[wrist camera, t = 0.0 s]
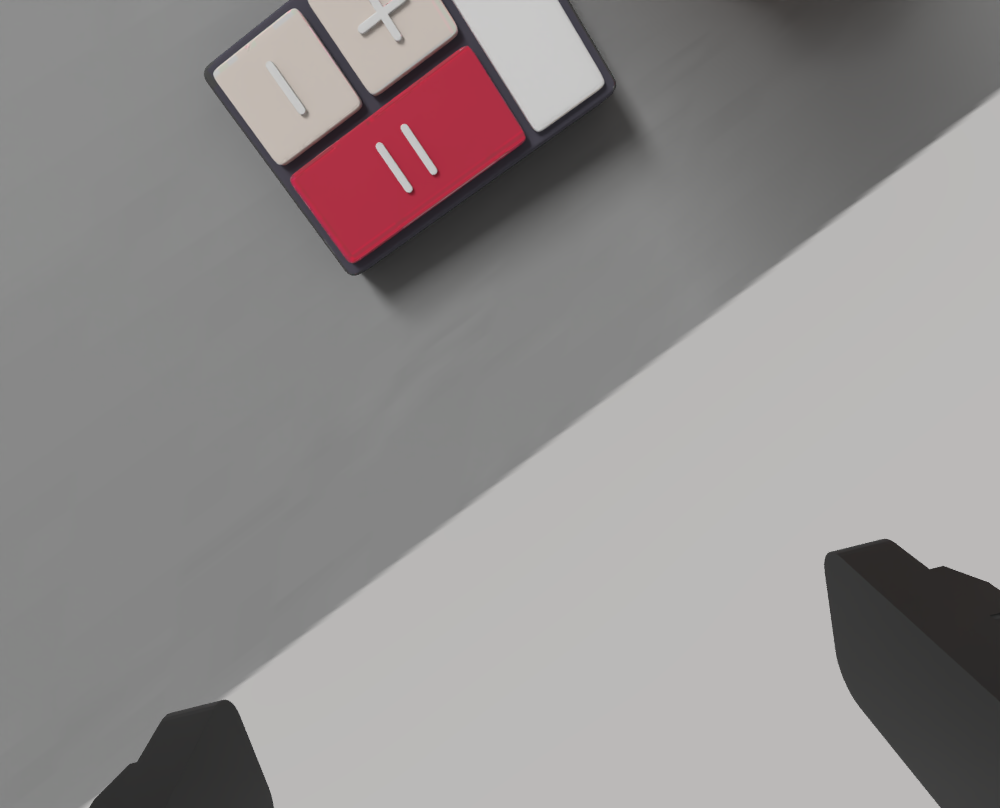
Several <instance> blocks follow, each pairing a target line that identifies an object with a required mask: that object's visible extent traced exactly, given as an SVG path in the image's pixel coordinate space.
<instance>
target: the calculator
mask: <svg viewBox="0 0 1000 808" xmlns="http://www.w3.org/2000/svg"><path fill="white" fill-rule="evenodd" d="M204 77H205V80H206V81H207V83H208V84H209V86H210V87H211V88H212V90H213V91H214V93H215V94H216V95H217V97H218V98H219V99H220V101H221V102H222V103H223V105H224V106H225V108H226V109H227V110H228V112H229V113H230V114H231V116H232V117H233V118H234V120H235V121H236V123H237V124H238V125H239V127H240V128H241V129H242V131H243V132H244V133H245V135H246V136H247V138H248V139H249V140H250V142H251V143H252V144H253V146H254V147H255V148H256V150H257V151H258V153H259V154H260V155H261V157H262V158H263V159H264V161H265V162H266V163H267V165H268V166H269V168H270V169H271V170H272V172H273V173H274V174H275V176H276V177H277V178H278V180H279V181H280V183H281V184H282V185H283V187H284V188H285V189H286V191H287V192H288V193H289V195H290V196H291V198H292V199H293V200H294V202H295V203H296V204H297V206H298V207H299V208H300V210H301V211H302V213H303V214H304V215H305V217H306V218H307V219H308V221H309V222H310V223H311V225H312V226H313V228H314V229H315V230H316V232H317V233H318V234H319V236H320V237H321V238H322V240H323V241H324V243H325V244H326V245H327V247H328V248H329V249H330V251H331V252H332V253H333V255H334V256H335V258H336V259H337V260H338V262H339V263H340V264H341V266H342V267H343V268H344V270H345V271H346V272H347V273H348V274H350V275H359V274H360V273H362V272H364V271H365V270H367V269H369V268H370V267H372V266H373V265H374V264H376V263H377V262H379V261H380V260H381V259H383V258H384V257H386V256H387V255H388V254H390V253H391V252H393V251H394V250H395V249H397V248H398V247H400V246H401V245H402V244H404V243H405V242H407V241H408V240H409V239H411V238H412V237H414V236H415V235H416V234H418V233H419V232H421V231H422V230H423V229H425V228H426V227H428V226H429V225H430V224H432V223H433V222H435V221H436V220H437V219H439V218H440V217H442V216H443V215H444V214H446V213H447V212H449V211H450V210H452V209H453V208H454V207H456V206H457V205H459V204H460V203H461V202H463V201H464V200H466V199H467V198H468V197H470V196H471V195H473V194H474V193H475V192H477V191H478V190H480V189H481V188H482V187H484V186H485V185H487V184H488V183H489V182H491V181H492V180H494V179H495V178H496V177H498V176H499V175H501V174H502V173H503V172H505V171H506V170H508V169H509V168H510V167H512V166H513V165H515V164H516V163H517V162H519V161H520V160H522V159H523V158H524V157H526V156H527V155H529V154H530V153H532V152H533V151H534V150H536V149H537V148H539V147H540V146H541V145H543V144H544V143H546V142H547V141H548V140H550V139H551V138H553V137H554V136H555V135H557V134H558V133H560V132H561V131H563V130H564V129H565V128H567V127H568V126H570V125H571V124H572V123H574V122H575V121H577V120H578V119H579V118H581V117H582V116H584V115H585V114H586V113H588V112H589V111H591V110H592V109H593V108H595V107H596V106H598V105H599V104H600V103H602V102H603V101H604V100H605V99H606V98H608V97H609V96H610V95H611V94H612V93H613V92H614V90H615V87H616V82H615V79H614V77H613V75H612V74H611V72H610V70H609V69H608V67H607V65H606V63H605V62H604V60H603V58H602V57H601V55H600V53H599V51H598V50H597V48H596V46H595V45H594V43H593V41H592V39H591V38H590V36H589V34H588V33H587V31H586V29H585V27H584V26H583V24H582V22H581V21H580V19H579V17H578V15H577V14H576V12H575V10H574V9H573V7H572V5H571V4H570V2H569V0H289V1H288V2H286V3H285V4H284V5H283V6H281V7H280V8H279V9H278V10H276V11H275V12H274V13H273V14H271V15H270V16H269V17H268V18H266V19H265V20H264V21H263V22H261V23H260V24H259V25H258V26H256V27H255V28H254V29H253V30H251V31H250V32H249V33H248V34H246V35H245V36H244V37H243V38H241V39H240V40H239V41H238V42H236V43H235V44H234V45H233V46H231V47H230V48H229V49H228V50H226V51H225V52H224V53H223V54H221V55H220V56H219V57H218V58H216V59H215V60H214V61H213V62H211V63H210V64H209V65H208V66H207V67H206V68H205V71H204Z"/></svg>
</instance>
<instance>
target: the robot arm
mask: <svg viewBox="0 0 1000 808" xmlns="http://www.w3.org/2000/svg"><path fill="white" fill-rule="evenodd" d="M824 565H825V566H824V568H825V576H826V584H827V591H828V599H829V606H830V613H831V620H832V627H833V635H834V642H835V650H836V656H837V660H838V664H839V667H840V670H841V673H842V676H843V678H844V681H845V683H846V685H847V687H848V689H849V691H850V693H851V695H852V696H853V698H854V700H855V701H856V703H857V704H858V705H859V707H860V708H861V709H862V710H863V712H864V713H865V714H866V716H867V717H868V718H869V719H870V720H871V722H872V723H873V724H874V725H875V727H876V728H877V729H878V730H879V732H880V733H881V734H882V735H883V736H884V738H885V739H886V740H887V741H888V743H889V744H890V745H891V747H892V748H893V749H894V750H895V752H896V753H897V754H898V755H899V756H900V758H901V759H902V760H903V761H904V763H905V764H906V765H907V766H908V768H909V769H910V770H911V771H912V772H913V774H914V775H915V776H916V778H917V779H918V780H919V781H920V782H921V784H922V785H923V786H924V787H925V789H926V790H927V791H928V792H929V794H930V795H931V796H932V797H933V799H934V800H935V801H936V802H937V804H938V805H939V806H940V807H941V808H1000V590H999V589H997V588H996V587H994V586H993V585H991V584H990V583H989V582H986V581H983V580H980V579H978V578H975V577H972V576H969V575H966V574H964V573H961V572H958V571H955V570H953V569H950V568H947V567H944V566H942V567H937V568H933V569H928V568H927V567H926V566H924V565H923V564H922V563H920V562H919V561H918V560H917V559H915V558H914V557H913V556H911V555H910V554H909V553H907V552H906V551H905V550H903V549H902V548H901V547H900V546H898V545H897V544H896V543H894V542H893V541H891V540H888V539H882V540H878V541H873V542H869V543H865V544H861V545H857V546H853V547H849V548H845V549H841V550H837V551H833V552H829V553H828V554H827V555H826V557H825V563H824ZM90 808H274V807H273V801H272V797H271V793H270V790H269V787H268V785H267V782H266V780H265V777H264V775H263V772H262V770H261V767H260V765H259V762H258V760H257V757H256V755H255V753H254V750H253V747H252V745H251V743H250V740H249V738H248V735H247V732H246V731H245V727H244V725H243V722H242V720H241V717H240V715H239V713H238V711H237V709H236V708H235V706H234V705H233V704H232V703H231V702H229V701H228V700H221V701H217V702H213V703H209V704H205V705H201V706H197V707H193V708H189V709H185V710H181V711H177V712H172V713H169V714H167V715H166V716H165V717H164V718H163V719H162V721H161V722H160V724H159V726H158V727H157V729H156V731H155V732H154V734H153V736H152V738H151V739H150V741H149V743H148V744H147V746H146V748H145V750H144V751H143V753H142V755H141V756H140V758H139V760H138V761H137V762H136V763H132V764H129V765H128V766H127V767H126V768H125V769H124V770H123V771H122V772H121V773H120V774H119V775H118V776H117V777H116V778H115V779H114V780H113V781H112V782H111V783H110V784H109V785H108V786H107V787H106V788H105V789H104V790H103V791H102V792H101V793H100V794H99V795H98V796H97V797H96V798H95V799H94V801H93V803H92V804H91V806H90Z"/></svg>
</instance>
